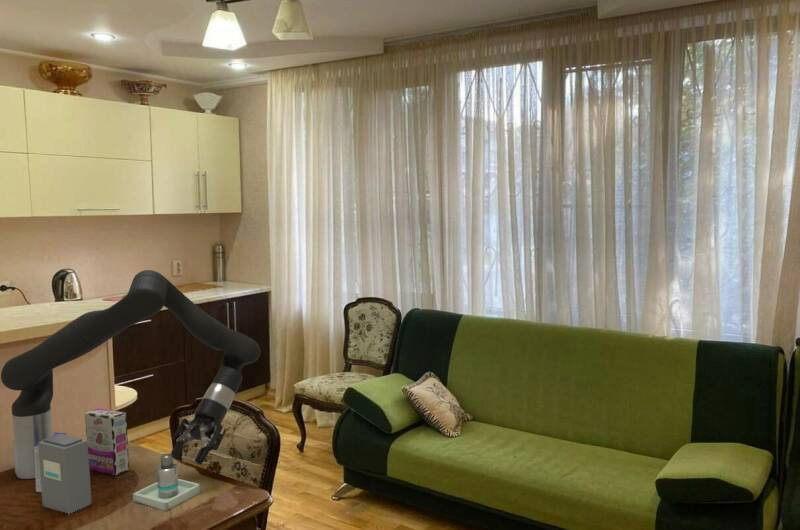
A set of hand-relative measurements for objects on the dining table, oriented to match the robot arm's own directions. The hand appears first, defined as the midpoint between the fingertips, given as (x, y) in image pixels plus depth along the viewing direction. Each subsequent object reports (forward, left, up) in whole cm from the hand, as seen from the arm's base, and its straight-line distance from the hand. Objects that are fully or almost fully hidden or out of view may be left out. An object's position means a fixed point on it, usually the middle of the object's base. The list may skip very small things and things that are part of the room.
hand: (185, 460), depth 166 cm
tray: (-1, -6, -8) cm, 9 cm away
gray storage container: (-20, -20, -8) cm, 29 cm away
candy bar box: (-29, -1, -8) cm, 30 cm away
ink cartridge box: (-30, -15, -8) cm, 34 cm away
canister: (-1, -5, -7) cm, 9 cm away
